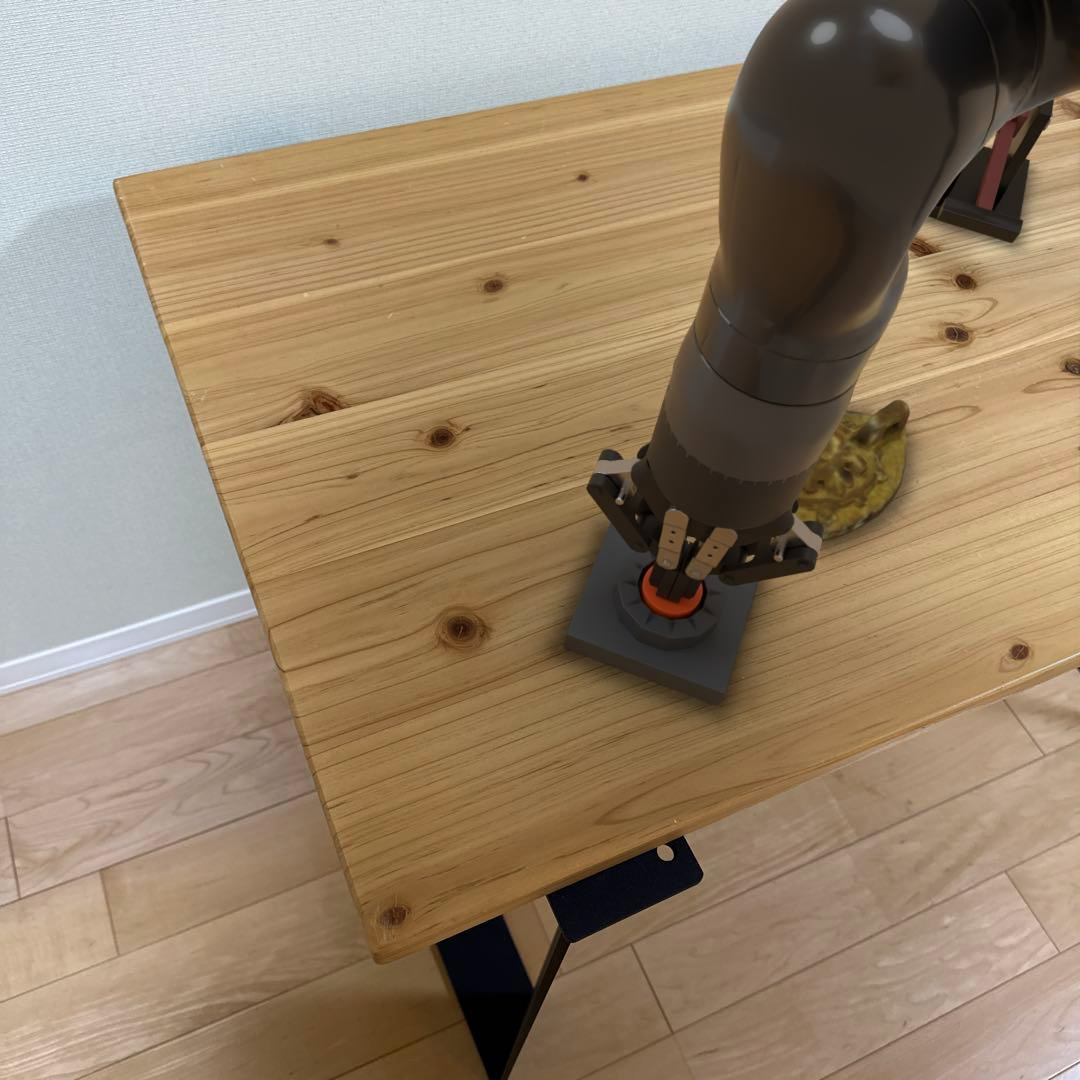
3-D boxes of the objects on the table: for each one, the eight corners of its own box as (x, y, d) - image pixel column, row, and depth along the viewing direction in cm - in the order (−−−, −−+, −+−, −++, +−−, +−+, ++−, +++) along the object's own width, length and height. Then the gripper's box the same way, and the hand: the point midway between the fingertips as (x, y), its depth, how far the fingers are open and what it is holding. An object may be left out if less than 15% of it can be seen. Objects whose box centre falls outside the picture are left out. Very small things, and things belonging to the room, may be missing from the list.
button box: (752, 586, 64) (770, 556, 60) (716, 707, 59) (733, 682, 56) (608, 533, 65) (617, 501, 61) (562, 649, 60) (569, 621, 57)
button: (703, 585, 61) (709, 572, 59) (687, 634, 59) (693, 622, 57) (648, 565, 61) (653, 551, 59) (630, 613, 59) (635, 600, 58)
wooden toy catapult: (1010, 244, 82) (1074, 145, 74) (906, 211, 83) (958, 110, 75) (1022, 172, 87) (1084, 71, 79) (924, 142, 88) (974, 39, 80)
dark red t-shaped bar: (1009, 248, 76) (1023, 229, 74) (933, 224, 77) (945, 205, 74) (1044, 118, 80) (1059, 97, 77) (972, 97, 80) (985, 75, 78)
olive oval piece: (782, 583, 65) (932, 478, 70) (810, 555, 61) (967, 446, 66) (695, 477, 68) (846, 384, 73) (716, 443, 63) (874, 346, 68)
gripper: (582, 420, 42) (546, 600, 57) (879, 524, 41) (762, 681, 56) (634, 303, 46) (587, 501, 61) (907, 395, 45) (791, 574, 59)
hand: (671, 587), depth 58 cm, fingers closed
